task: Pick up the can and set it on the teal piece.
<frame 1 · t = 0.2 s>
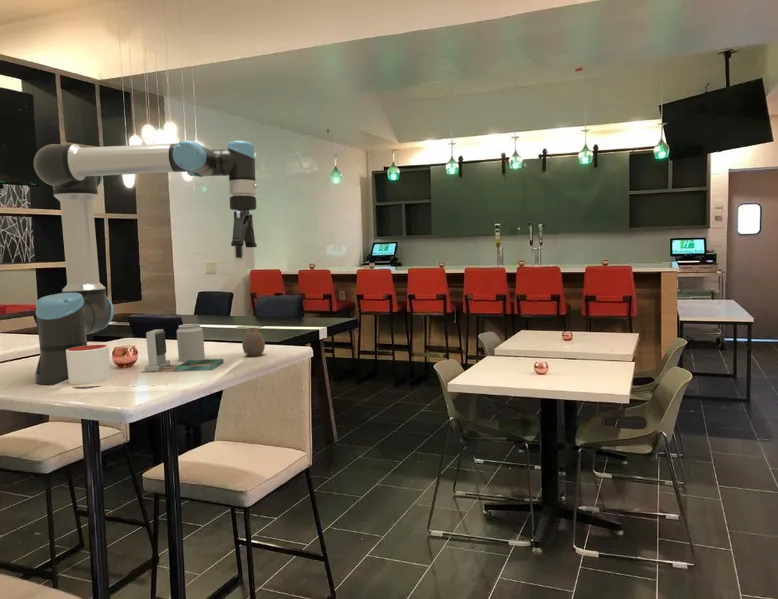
hand: (245, 269, 183), 28 cm above the table, tool pointing down, fingers open, 13 cm apart
teal piece: (183, 372, 175), on the table
vase: (254, 356, 198), on the table
cup: (90, 386, 164), on the table
can: (192, 364, 188), on the table
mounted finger: (157, 368, 175), resting on teal piece
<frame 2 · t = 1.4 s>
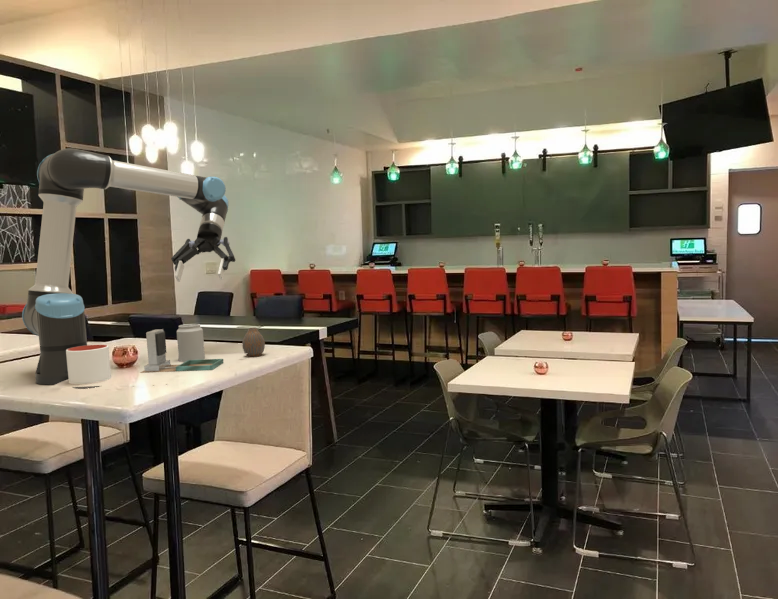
hand: (198, 277, 196), 25 cm above the table, tool tilted 45°, fingers open, 13 cm apart
nothing on the table moved.
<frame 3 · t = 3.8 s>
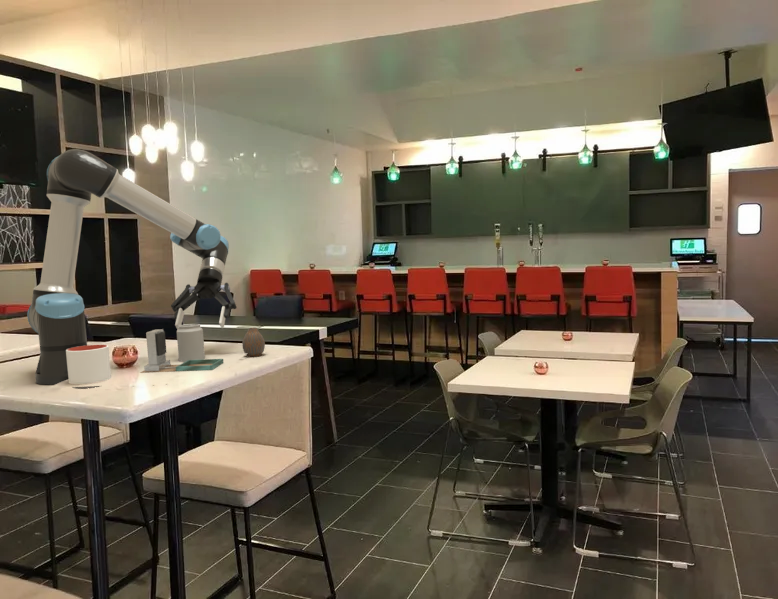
hand: (199, 326, 192), 11 cm above the table, tool tilted 45°, fingers open, 13 cm apart
nothing on the table moved.
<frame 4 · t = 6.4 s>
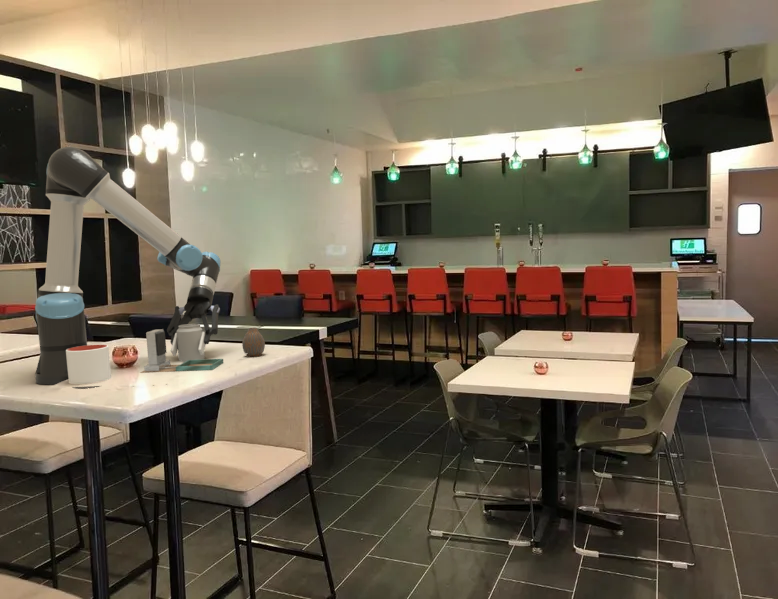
hand: (187, 352, 184), 4 cm above the table, tool tilted 45°, fingers closed on can, 7 cm apart
can: (192, 364, 188), on the table, touching gripper
everything else where it was.
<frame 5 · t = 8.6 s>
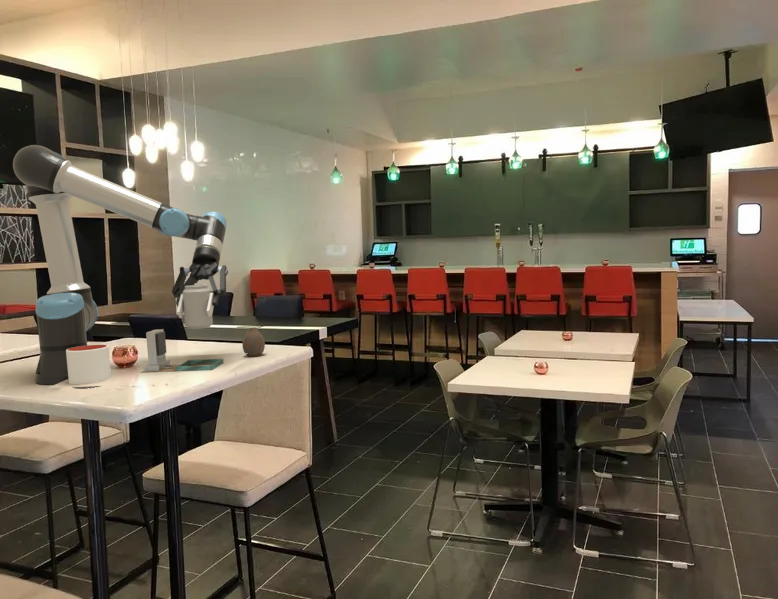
hand: (194, 314, 173), 16 cm above the table, tool tilted 45°, fingers closed on can, 7 cm apart
can: (199, 328, 177), point 12 cm above the table, touching gripper
everything else where it was.
when the fingers open (8 cm above the table, at t = 10.8 s): can drops 2 cm, resting on teal piece.
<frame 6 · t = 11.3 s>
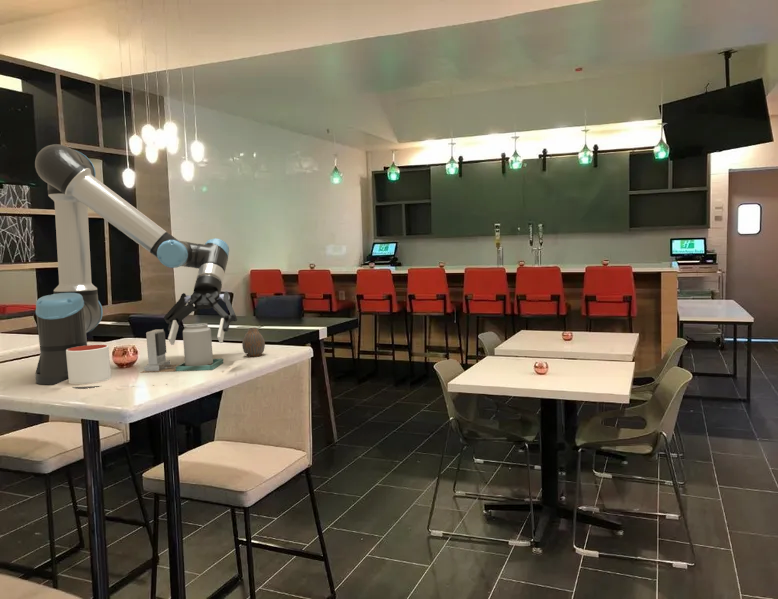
hand: (195, 341, 171), 9 cm above the table, tool tilted 45°, fingers open, 13 cm apart
can: (199, 367, 174), point 1 cm above the table, touching teal piece
everything else where it was.
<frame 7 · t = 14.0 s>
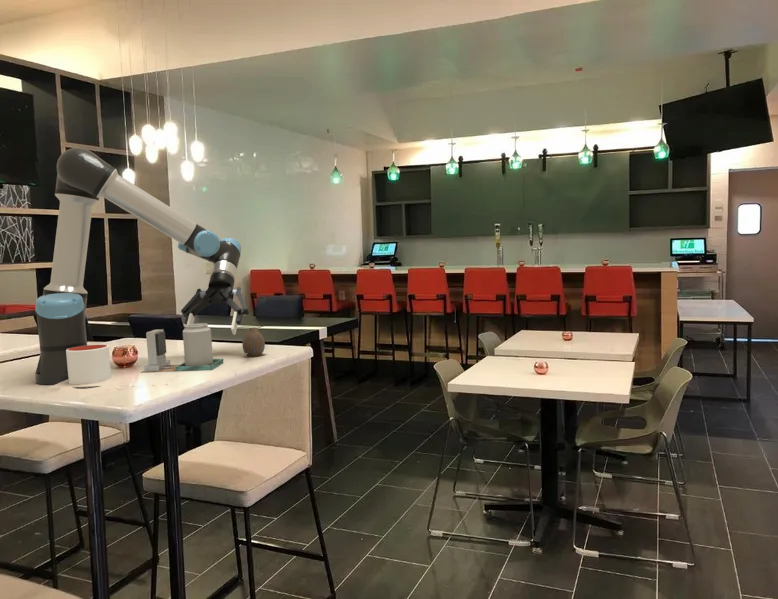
hand: (210, 332, 185), 10 cm above the table, tool tilted 45°, fingers open, 13 cm apart
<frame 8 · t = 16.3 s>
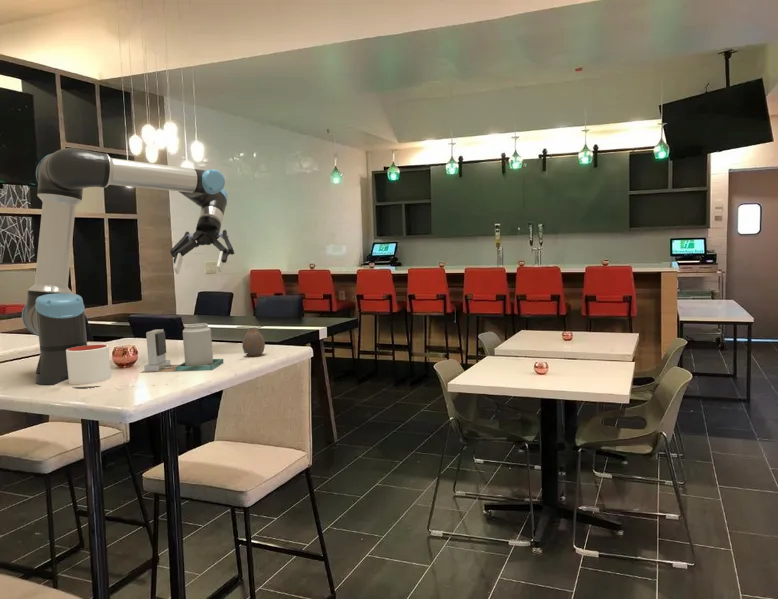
hand: (197, 270, 196), 28 cm above the table, tool tilted 45°, fingers open, 13 cm apart
at the end: can 0.3 cm from the target spot on the teal piece, point 1.3 cm above the teal piece's base; can tilted 0°; the gripper is holding nothing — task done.
